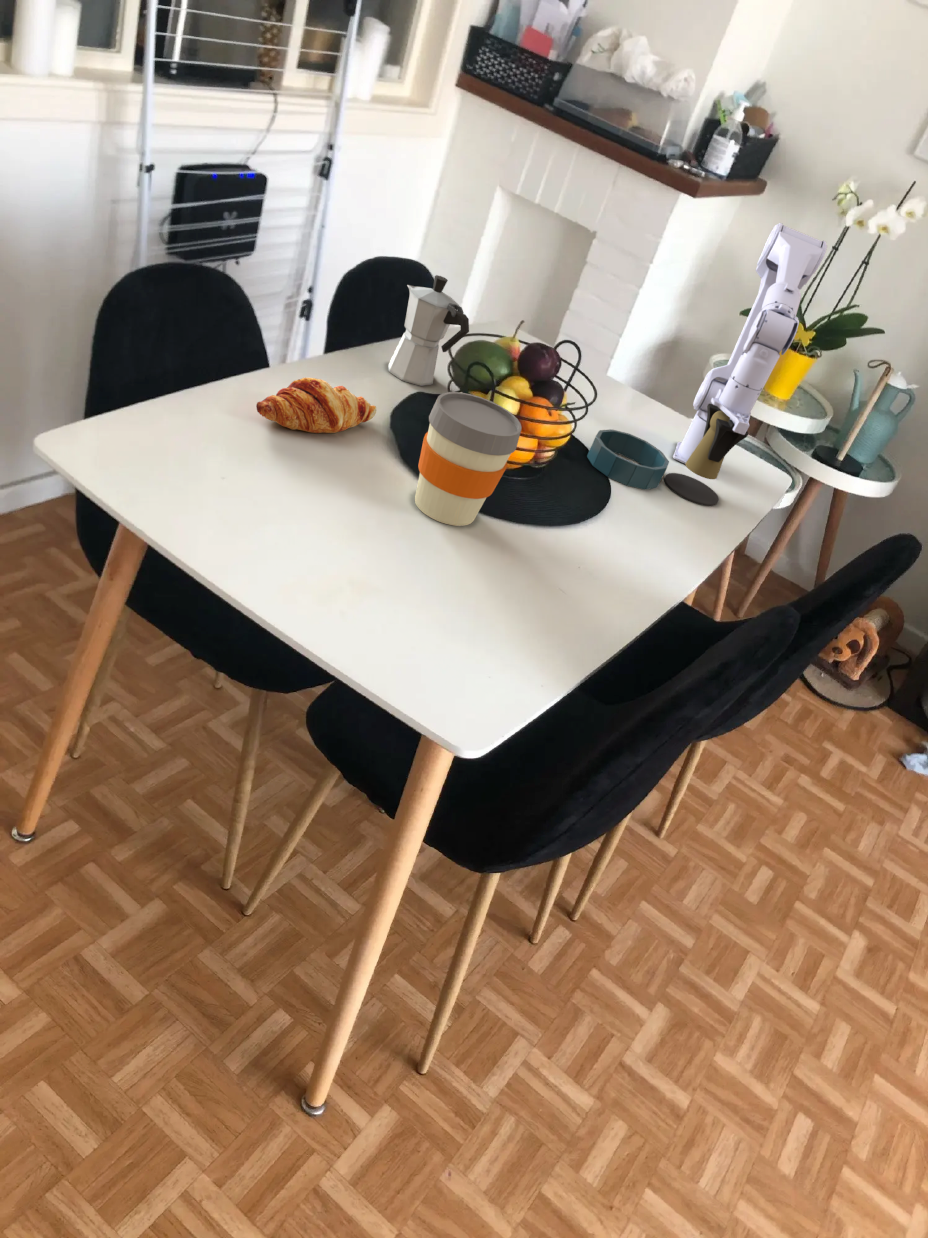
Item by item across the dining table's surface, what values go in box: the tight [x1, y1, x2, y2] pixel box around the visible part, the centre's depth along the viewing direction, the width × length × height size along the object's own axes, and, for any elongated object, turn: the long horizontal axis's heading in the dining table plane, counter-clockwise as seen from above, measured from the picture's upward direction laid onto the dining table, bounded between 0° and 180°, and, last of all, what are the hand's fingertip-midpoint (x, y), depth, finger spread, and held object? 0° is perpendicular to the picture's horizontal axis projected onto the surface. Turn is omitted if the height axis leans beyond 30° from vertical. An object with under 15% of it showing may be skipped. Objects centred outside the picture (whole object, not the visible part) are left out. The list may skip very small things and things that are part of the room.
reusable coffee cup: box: [414, 391, 523, 527], centre depth 138 cm, size 12×12×15 cm
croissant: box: [256, 377, 377, 434], centre depth 150 cm, size 21×10×8 cm, turn 130°
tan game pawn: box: [685, 411, 730, 480], centre depth 174 cm, size 6×6×11 cm
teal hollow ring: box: [586, 428, 670, 490], centre depth 176 cm, size 13×13×4 cm
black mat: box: [663, 472, 720, 507], centre depth 179 cm, size 10×10×1 cm
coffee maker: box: [387, 274, 470, 387], centre depth 175 cm, size 15×9×18 cm, turn 50°
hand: (709, 453), depth 176 cm, fingers closed on tan game pawn, 5 cm apart
